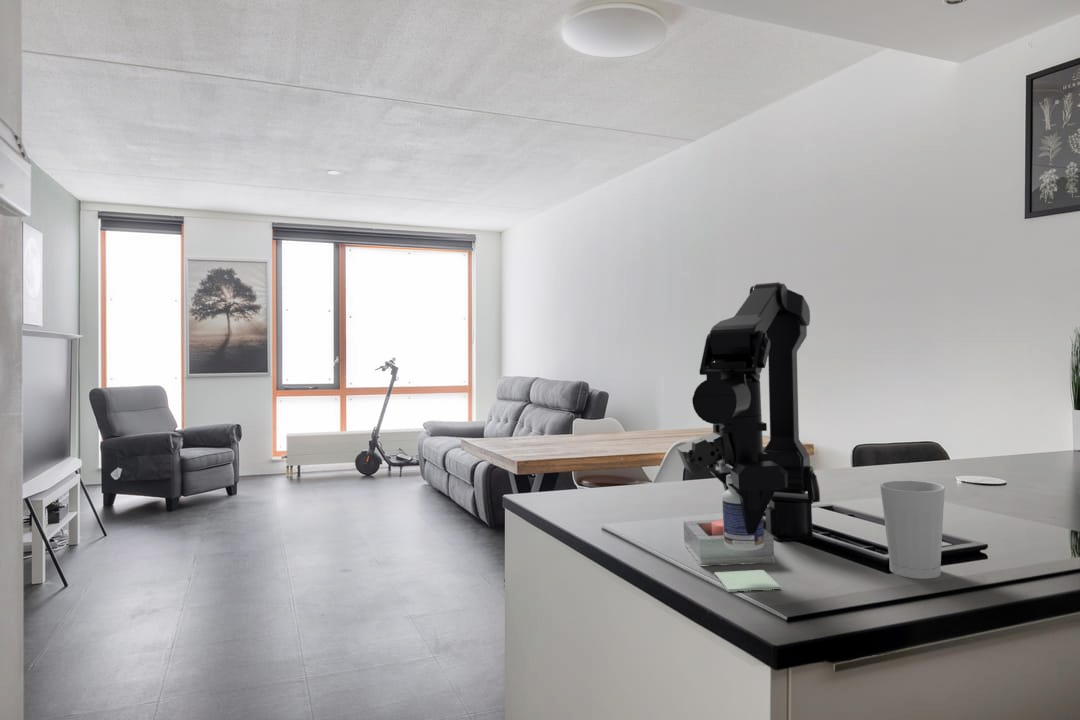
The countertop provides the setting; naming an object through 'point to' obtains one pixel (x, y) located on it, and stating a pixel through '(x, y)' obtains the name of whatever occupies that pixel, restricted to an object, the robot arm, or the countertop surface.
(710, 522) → the frame
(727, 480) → the pill bottle
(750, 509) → the robot arm
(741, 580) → the pad
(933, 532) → the cup
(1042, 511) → the countertop surface
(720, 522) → the plunger
